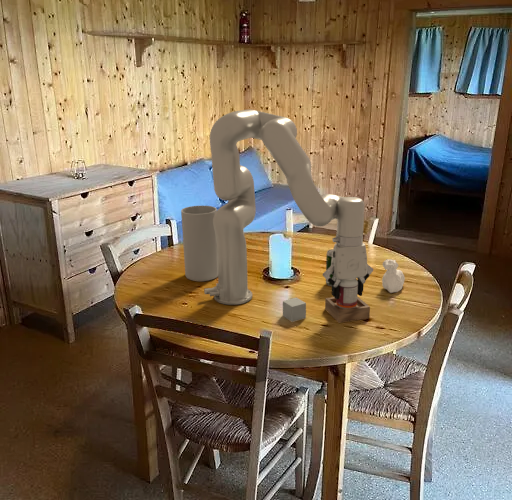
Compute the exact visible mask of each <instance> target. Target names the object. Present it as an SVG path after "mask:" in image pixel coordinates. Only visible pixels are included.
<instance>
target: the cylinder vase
mask: <svg viewBox="0 0 512 500" xmlns="http://www.w3.org/2000/svg"><path fill="white" fill-rule="evenodd" d="M217 210H218V209H217V207H215V206H212V205H192V206H191V205H190V206H187V207H184V208H182V209H181V211H180V213H181V230H182V245H183V246H182V247H183V257H184V272H185V277H186V279H188V280H190V281H194V282H208V281H212V280H215V279H217V278H218V261H217V244H216V236H215V231H214V226H213V218H214V215H215V213H216V212H217Z"/></svg>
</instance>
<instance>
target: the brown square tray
mask: <svg viewBox="0 0 512 500" xmlns="http://www.w3.org/2000/svg"><path fill="white" fill-rule="evenodd" d="M324 299H325V300H324V301H325V302H324V303H325V305H324V309H325V311H326V312H327V313H328V314H329V315H330V316H332V318H333V319H334V320H336V322H337V323H339V324H341V323H346V322H355V321H359V320H360V321H361V320H368V319H370V313H371V312H370V311H371V307H370V306H369V304H367V303H366V302H365V301H363V299H361V298H360V297H359V295H357V306H356V307H355V308H348V309H341V308H339V307H338V306H337V304H336V301H337V299H336V298H334V297H333V296H332V297H326V298H324Z"/></svg>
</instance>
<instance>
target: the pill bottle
mask: <svg viewBox="0 0 512 500" xmlns="http://www.w3.org/2000/svg"><path fill="white" fill-rule="evenodd" d="M357 280H358V279H357V278H351V279H344V280H340V282H339V284H338V287H339V299H337V301H336V304H337V306H338V307H339V308H341V309H348V308H355V307H356V306H357V296H358V294H357V292H358V281H357Z"/></svg>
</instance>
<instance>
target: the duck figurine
mask: <svg viewBox="0 0 512 500" xmlns="http://www.w3.org/2000/svg"><path fill="white" fill-rule="evenodd" d="M396 261H397V260H396V259H391V258H390V259H384V261H383V262H382V266H383V268H384V269H385V273H384V274H383V275H382V279H381V283H382V287H383V289H385V290H387V291H388V292H389V293H390V294H392V293H399V292H400V291H401V290H402V289H403V286H404V283H405V280H406V278H405V274H404V273H403V271H402V270H401V269H398V267H399V263H398V262H396Z"/></svg>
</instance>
